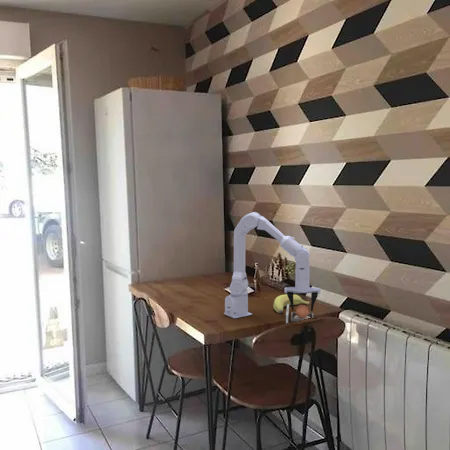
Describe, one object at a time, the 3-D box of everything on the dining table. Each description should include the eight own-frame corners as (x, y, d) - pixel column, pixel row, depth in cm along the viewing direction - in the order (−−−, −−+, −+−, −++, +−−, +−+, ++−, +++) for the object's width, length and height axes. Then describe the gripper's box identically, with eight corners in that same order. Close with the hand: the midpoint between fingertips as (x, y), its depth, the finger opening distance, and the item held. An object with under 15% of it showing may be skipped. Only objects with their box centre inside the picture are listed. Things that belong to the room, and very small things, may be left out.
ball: (301, 320, 198) (301, 307, 197) (292, 317, 202) (292, 304, 202) (311, 318, 201) (311, 305, 200) (302, 315, 205) (302, 302, 205)
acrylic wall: (288, 323, 195) (288, 315, 194) (286, 323, 195) (285, 315, 194) (288, 312, 210) (289, 304, 210) (287, 312, 210) (287, 304, 210)
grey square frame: (290, 321, 198) (290, 318, 198) (291, 314, 207) (291, 312, 207) (313, 321, 196) (313, 319, 196) (313, 315, 205) (313, 313, 205)
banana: (267, 291, 219) (305, 292, 226) (264, 302, 220) (302, 302, 228) (280, 306, 207) (320, 306, 214) (277, 317, 208) (317, 317, 216)
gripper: (284, 279, 197) (284, 312, 198) (320, 280, 195) (320, 313, 196) (284, 275, 204) (284, 307, 205) (320, 276, 202) (319, 308, 203)
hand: (302, 310), depth 201 cm, fingers open, 7 cm apart
